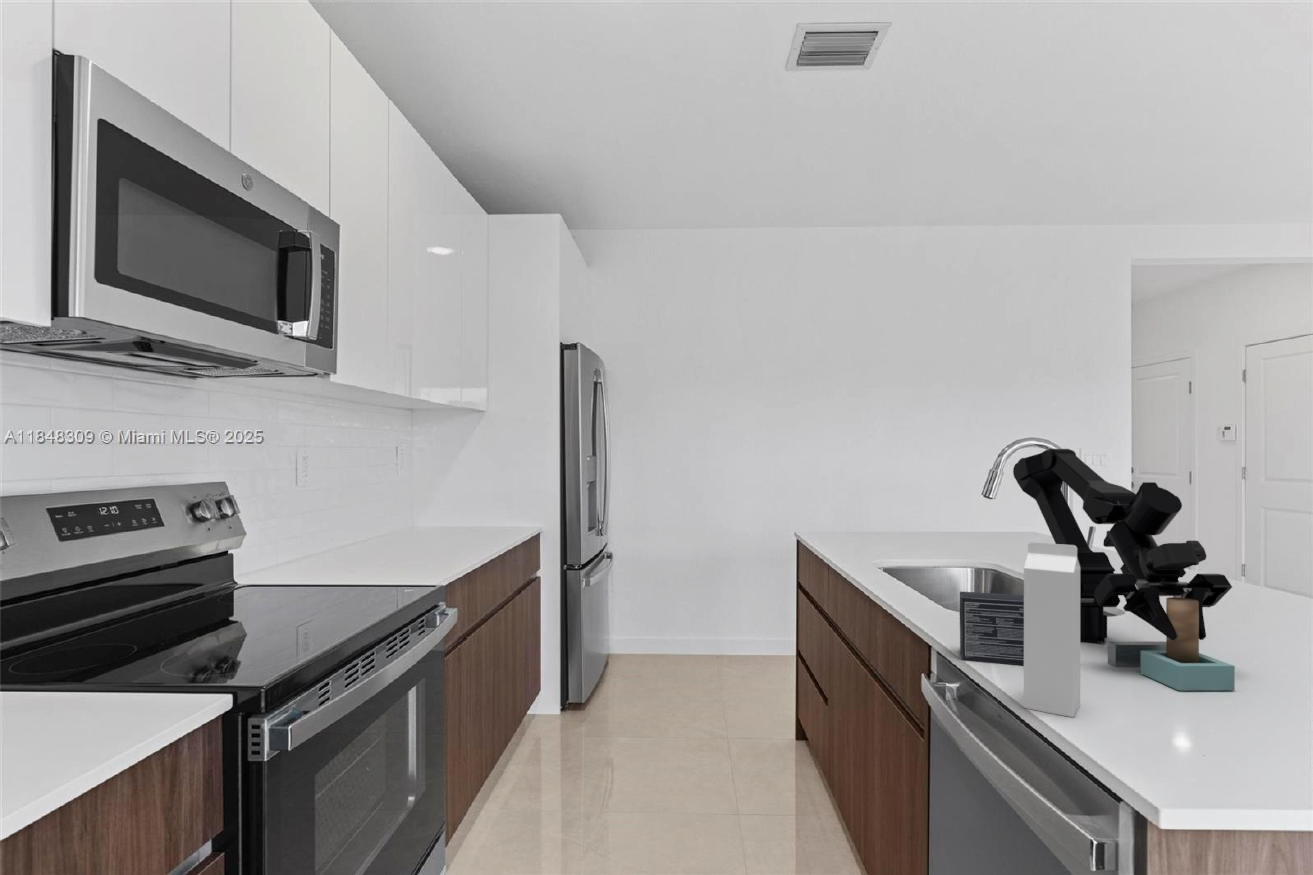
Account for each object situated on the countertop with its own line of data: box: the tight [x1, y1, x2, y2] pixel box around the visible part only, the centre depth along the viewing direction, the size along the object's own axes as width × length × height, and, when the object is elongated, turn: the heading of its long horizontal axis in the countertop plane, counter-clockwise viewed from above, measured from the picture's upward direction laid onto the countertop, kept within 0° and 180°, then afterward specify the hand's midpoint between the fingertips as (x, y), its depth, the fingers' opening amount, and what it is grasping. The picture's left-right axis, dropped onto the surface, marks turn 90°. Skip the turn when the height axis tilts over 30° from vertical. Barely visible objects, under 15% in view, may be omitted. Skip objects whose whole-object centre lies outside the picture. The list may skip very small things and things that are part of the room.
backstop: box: [1107, 641, 1166, 668], centre depth 122 cm, size 2×11×4 cm, turn 92°
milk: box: [1023, 541, 1081, 718], centre depth 102 cm, size 6×6×22 cm
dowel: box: [1165, 596, 1200, 663], centre depth 113 cm, size 4×4×12 cm
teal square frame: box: [1140, 651, 1236, 692], centre depth 113 cm, size 8×8×4 cm
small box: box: [959, 591, 1024, 666], centre depth 125 cm, size 11×6×10 cm, turn 71°
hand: (1189, 638), depth 112 cm, fingers closed on dowel, 4 cm apart
